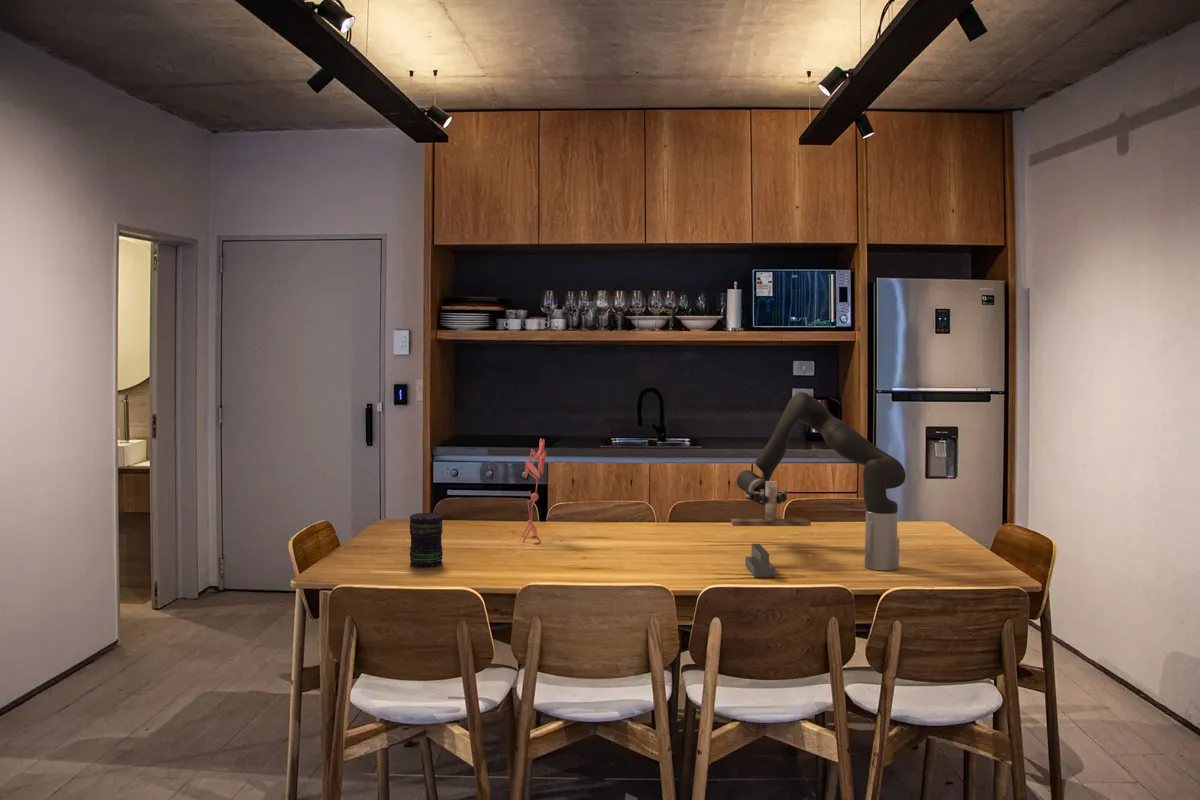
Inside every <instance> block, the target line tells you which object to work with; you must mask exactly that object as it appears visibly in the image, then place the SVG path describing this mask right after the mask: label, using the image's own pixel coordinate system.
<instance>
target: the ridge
mask: <svg viewBox="0 0 1200 800" xmlns="http://www.w3.org/2000/svg"><path fill="white" fill-rule="evenodd" d="M750 545H751V552H750V553H751V556H744V557H745V561H744V562H745V564H744V567H745V566H746V567H747V568H746V567H745V568H746V570H748V572H749V571H750V572H751V573H752V574H751V573H750V572H749V573H750V574H751V576H752V577H753V576H754V577H775V578H776V567H775V566H774V565H773V563H771V562H770V553H769V552H768V551H767V550H766V549H765V548H764V546H762V545H761V544H760V543H751V544H750ZM754 577H753V578H754Z"/></svg>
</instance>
